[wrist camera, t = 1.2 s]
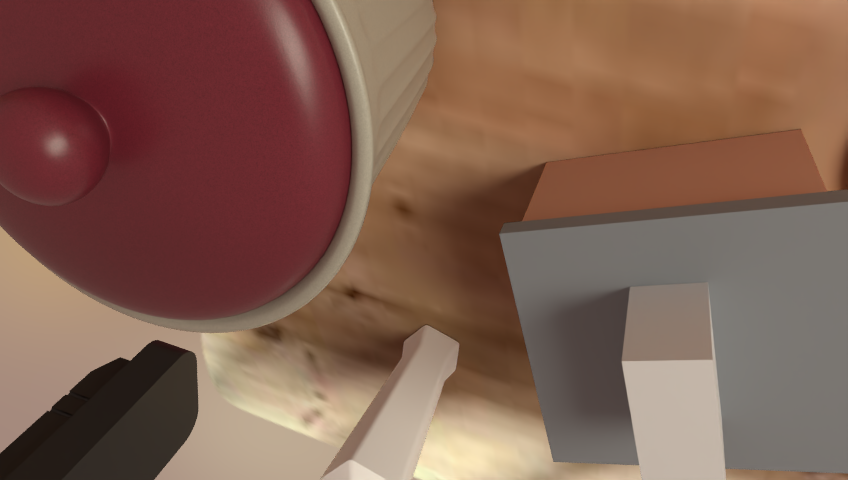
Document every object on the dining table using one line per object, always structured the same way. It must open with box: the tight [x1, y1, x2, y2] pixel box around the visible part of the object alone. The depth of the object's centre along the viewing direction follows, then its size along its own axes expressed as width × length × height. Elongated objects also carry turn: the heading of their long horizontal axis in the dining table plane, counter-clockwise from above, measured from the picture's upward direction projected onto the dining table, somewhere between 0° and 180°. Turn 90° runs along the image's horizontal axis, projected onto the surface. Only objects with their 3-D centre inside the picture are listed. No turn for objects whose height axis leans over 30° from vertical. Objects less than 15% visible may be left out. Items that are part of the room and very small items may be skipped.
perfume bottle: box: [320, 325, 459, 480], centre depth 40 cm, size 5×4×15 cm
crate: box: [522, 129, 827, 221], centre depth 34 cm, size 12×13×8 cm
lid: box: [499, 189, 848, 480], centre depth 28 cm, size 13×13×7 cm
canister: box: [0, 0, 437, 333], centre depth 28 cm, size 18×18×21 cm
